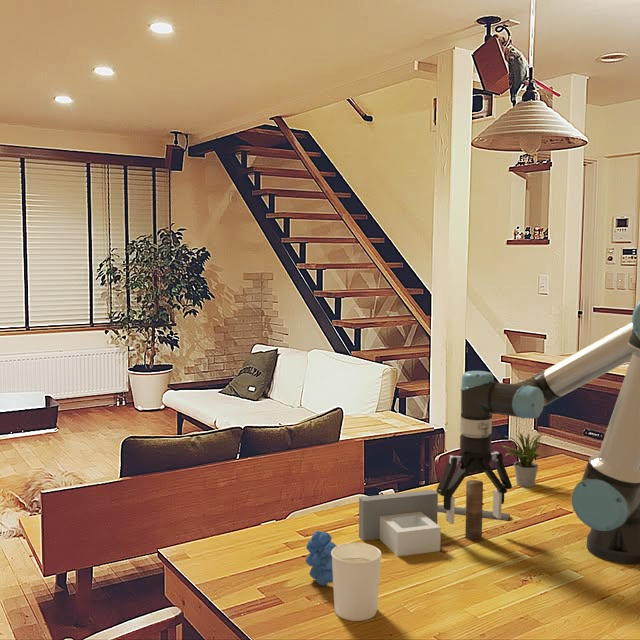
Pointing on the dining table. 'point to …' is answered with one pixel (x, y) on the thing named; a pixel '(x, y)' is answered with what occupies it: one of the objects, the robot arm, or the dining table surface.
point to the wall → (393, 509)
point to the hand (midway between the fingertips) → (473, 519)
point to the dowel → (474, 510)
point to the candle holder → (356, 580)
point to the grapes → (320, 557)
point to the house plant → (525, 461)
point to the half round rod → (484, 513)
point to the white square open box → (409, 533)
